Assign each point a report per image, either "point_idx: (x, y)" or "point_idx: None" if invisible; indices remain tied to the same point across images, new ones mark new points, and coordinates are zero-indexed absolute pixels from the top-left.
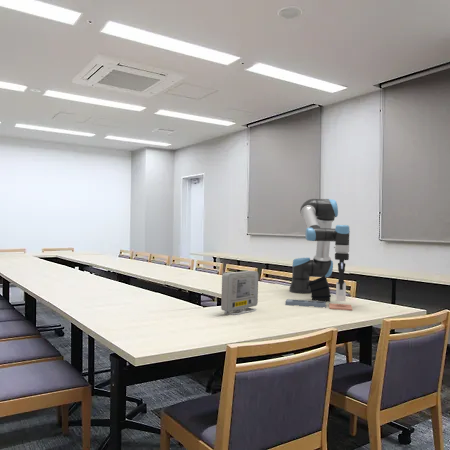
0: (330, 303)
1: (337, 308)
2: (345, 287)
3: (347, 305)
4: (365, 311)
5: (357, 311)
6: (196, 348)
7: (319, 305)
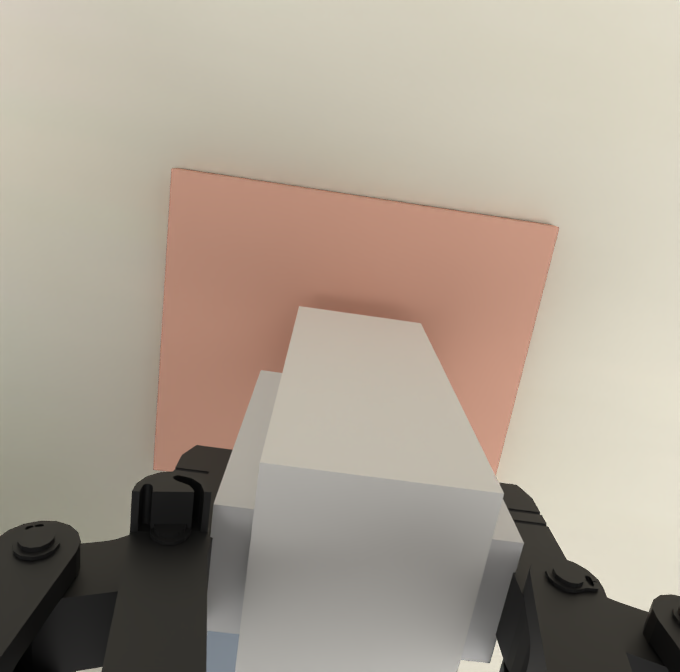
0: (170, 457)
1: (508, 417)
2: (472, 436)
3: (267, 242)
4: (597, 28)
5: (610, 162)
6: None
7: None
